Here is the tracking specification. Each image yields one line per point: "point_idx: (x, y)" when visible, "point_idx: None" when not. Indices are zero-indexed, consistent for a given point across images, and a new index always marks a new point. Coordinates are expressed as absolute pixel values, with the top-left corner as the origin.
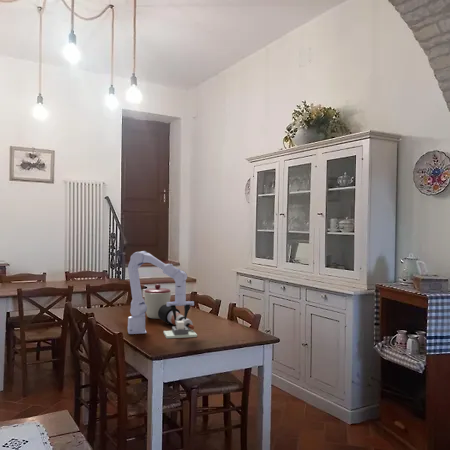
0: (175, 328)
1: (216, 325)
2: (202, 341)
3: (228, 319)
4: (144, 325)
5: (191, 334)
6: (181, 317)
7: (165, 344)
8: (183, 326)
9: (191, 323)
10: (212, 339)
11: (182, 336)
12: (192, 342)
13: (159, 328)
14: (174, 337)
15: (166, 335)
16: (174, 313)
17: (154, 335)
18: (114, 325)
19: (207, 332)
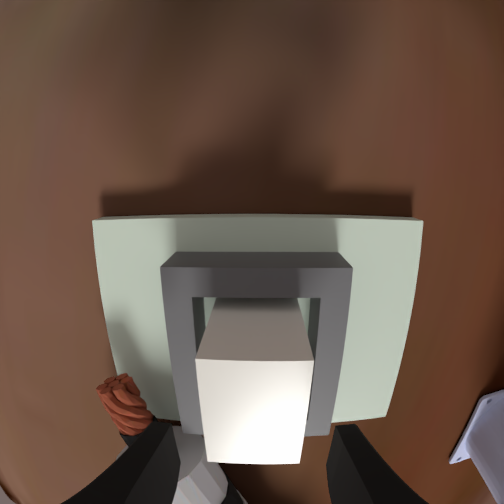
0: (316, 358)
1: (25, 460)
2: (95, 42)
3: (15, 497)
4: (501, 441)
5: (143, 237)
6: None
7: (434, 19)
8: (216, 328)
9: None
10: (15, 110)
11: (250, 216)
12: (188, 11)
13: None
14: (339, 216)
15: (418, 249)
16: (407, 501)
17: (462, 345)
18: (491, 500)
19: (32, 347)
